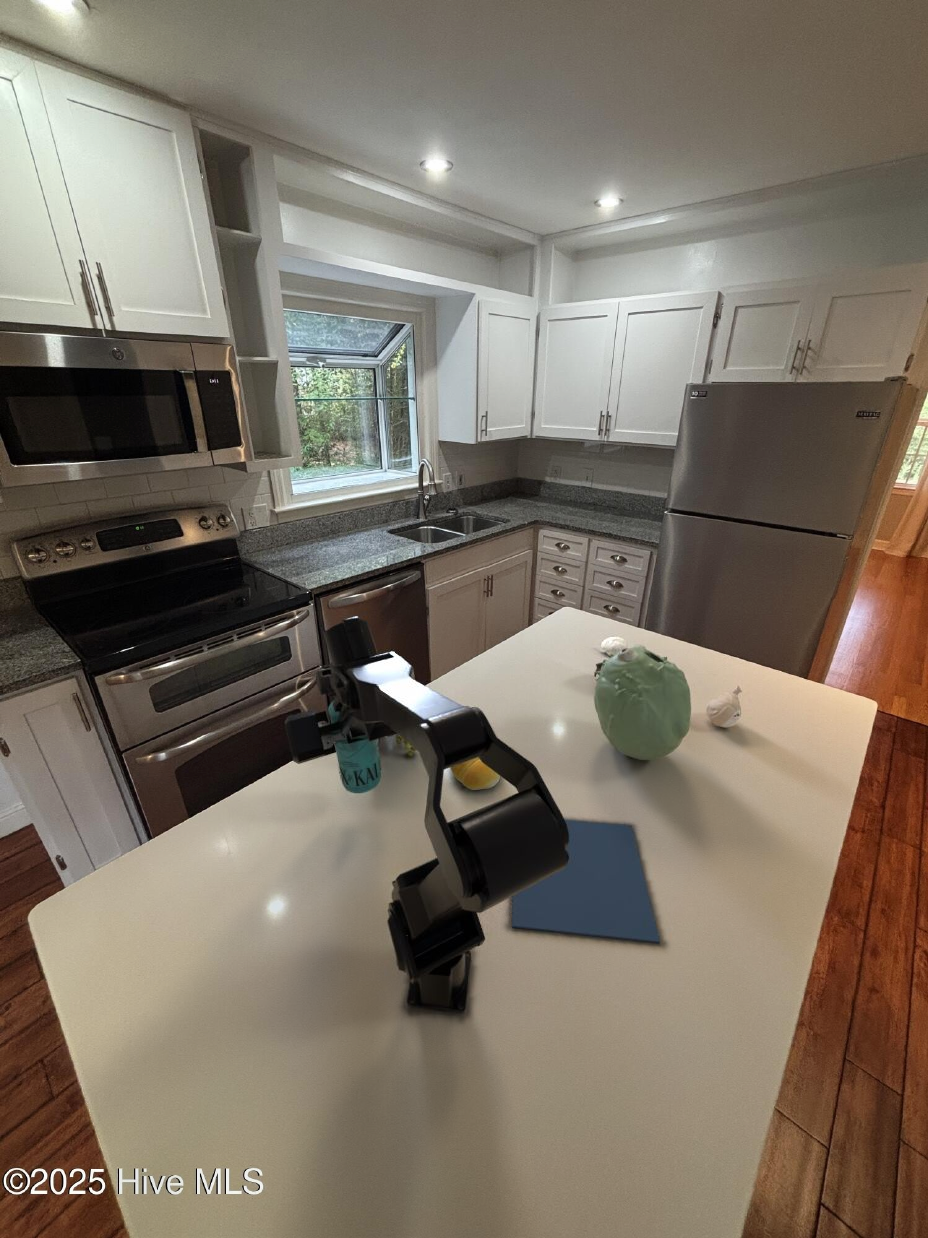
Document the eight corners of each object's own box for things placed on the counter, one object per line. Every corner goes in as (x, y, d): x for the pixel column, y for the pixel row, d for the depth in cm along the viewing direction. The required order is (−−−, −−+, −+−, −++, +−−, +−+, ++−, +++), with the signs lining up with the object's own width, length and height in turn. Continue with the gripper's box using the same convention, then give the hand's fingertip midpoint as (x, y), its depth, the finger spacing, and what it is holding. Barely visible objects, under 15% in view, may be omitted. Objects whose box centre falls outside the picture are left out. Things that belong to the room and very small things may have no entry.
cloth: (659, 943, 61) (660, 941, 60) (511, 927, 62) (511, 925, 62) (631, 826, 77) (631, 825, 77) (514, 816, 79) (514, 815, 79)
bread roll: (477, 800, 82) (477, 781, 80) (443, 771, 88) (443, 753, 86) (512, 776, 87) (513, 758, 85) (478, 751, 93) (478, 734, 91)
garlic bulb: (744, 733, 98) (754, 699, 94) (711, 733, 98) (720, 698, 94) (729, 713, 104) (737, 680, 100) (698, 713, 104) (705, 680, 100)
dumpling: (629, 654, 128) (632, 643, 125) (617, 664, 125) (620, 653, 122) (607, 641, 132) (609, 630, 129) (595, 650, 129) (597, 639, 126)
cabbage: (645, 796, 83) (665, 694, 74) (568, 735, 97) (577, 644, 89) (704, 762, 90) (728, 666, 82) (624, 710, 105) (637, 625, 96)
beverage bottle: (346, 774, 82) (326, 669, 74) (387, 771, 82) (370, 666, 74) (339, 804, 76) (316, 693, 68) (382, 800, 76) (364, 690, 68)
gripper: (415, 636, 69) (394, 670, 82) (274, 667, 61) (276, 699, 75) (440, 712, 66) (414, 735, 79) (295, 755, 58) (293, 772, 72)
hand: (351, 733), depth 76 cm, fingers closed on beverage bottle, 6 cm apart
